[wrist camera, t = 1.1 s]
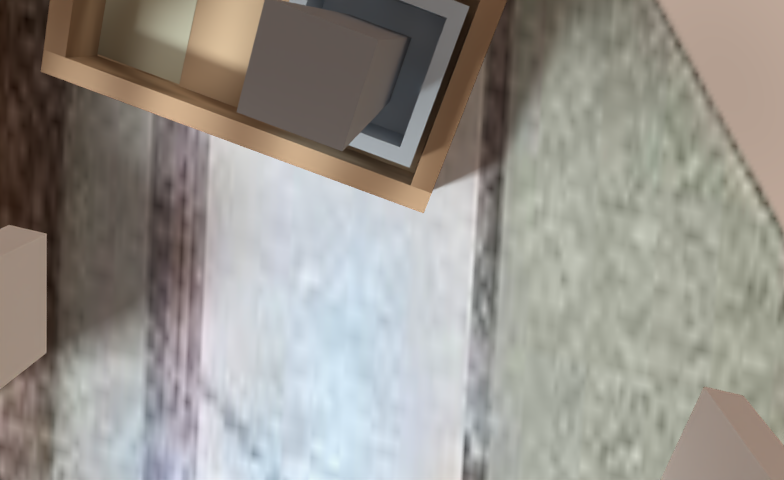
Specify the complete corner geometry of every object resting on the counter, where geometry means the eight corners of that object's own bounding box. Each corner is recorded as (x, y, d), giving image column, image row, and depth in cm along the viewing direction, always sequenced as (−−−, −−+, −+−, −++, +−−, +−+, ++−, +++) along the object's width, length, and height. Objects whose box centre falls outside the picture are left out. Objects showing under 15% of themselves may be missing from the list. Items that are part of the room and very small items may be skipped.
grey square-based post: (283, 102, 33) (153, 154, 19) (324, -44, 31) (209, -115, 16) (414, 151, 34) (386, 239, 19) (467, 10, 31) (480, -12, 16)
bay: (89, 67, 36) (40, 71, 31) (127, -172, 31) (75, -204, 27) (427, 192, 36) (423, 213, 32) (511, -25, 32) (520, -34, 27)
